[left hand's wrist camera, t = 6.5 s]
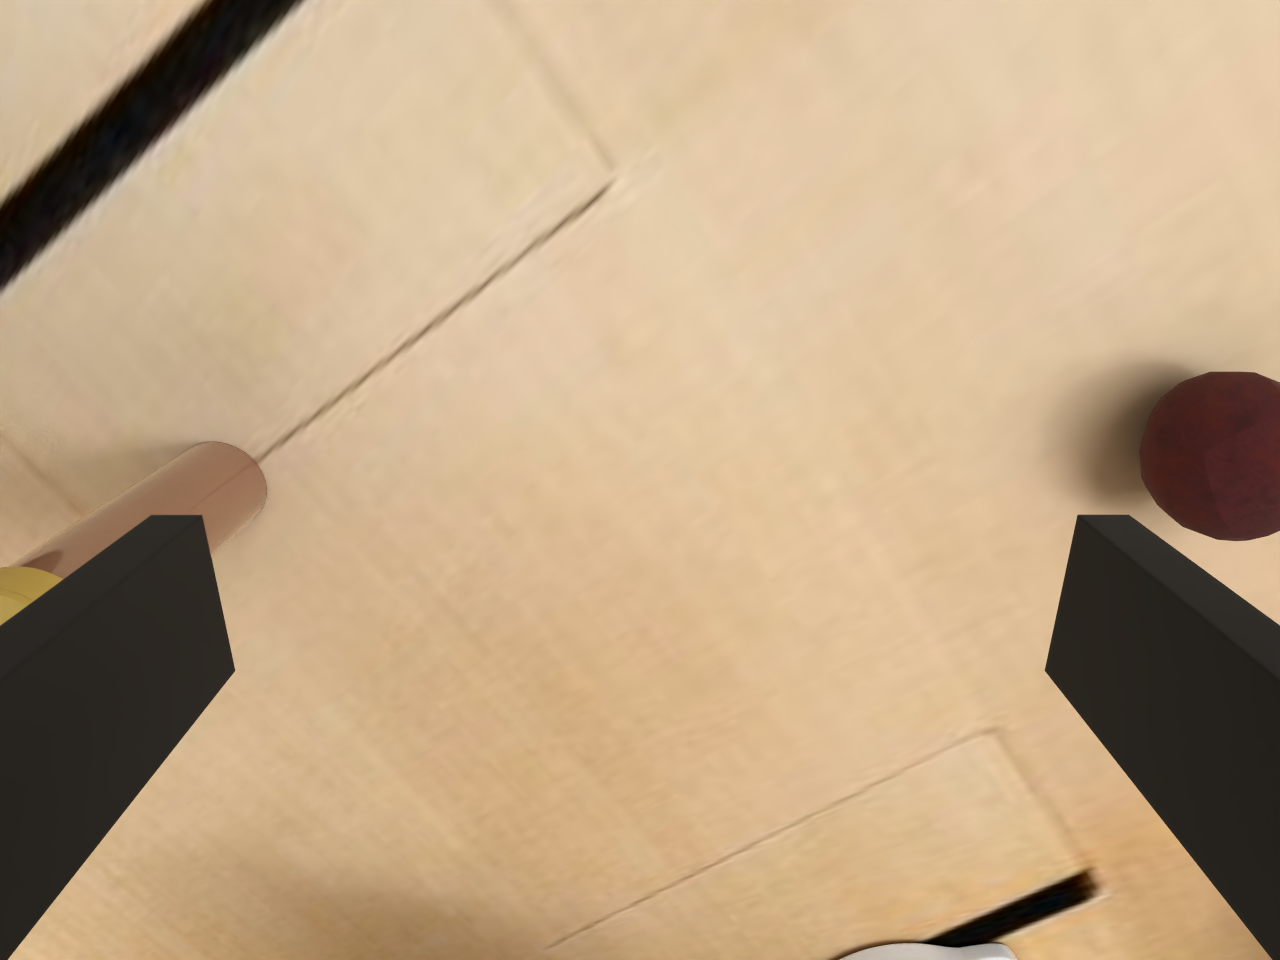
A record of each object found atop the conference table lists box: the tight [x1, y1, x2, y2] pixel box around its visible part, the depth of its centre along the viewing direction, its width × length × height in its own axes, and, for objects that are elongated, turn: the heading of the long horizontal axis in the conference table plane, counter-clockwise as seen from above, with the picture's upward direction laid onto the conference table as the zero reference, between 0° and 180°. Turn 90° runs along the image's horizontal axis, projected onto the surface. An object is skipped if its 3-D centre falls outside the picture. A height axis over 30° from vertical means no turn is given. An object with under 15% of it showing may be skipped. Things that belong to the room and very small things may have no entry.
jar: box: [8, 442, 267, 579], centre depth 35 cm, size 5×5×15 cm
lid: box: [0, 566, 63, 625], centre depth 28 cm, size 5×5×2 cm
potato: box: [1140, 372, 1280, 541], centre depth 38 cm, size 7×8×7 cm
